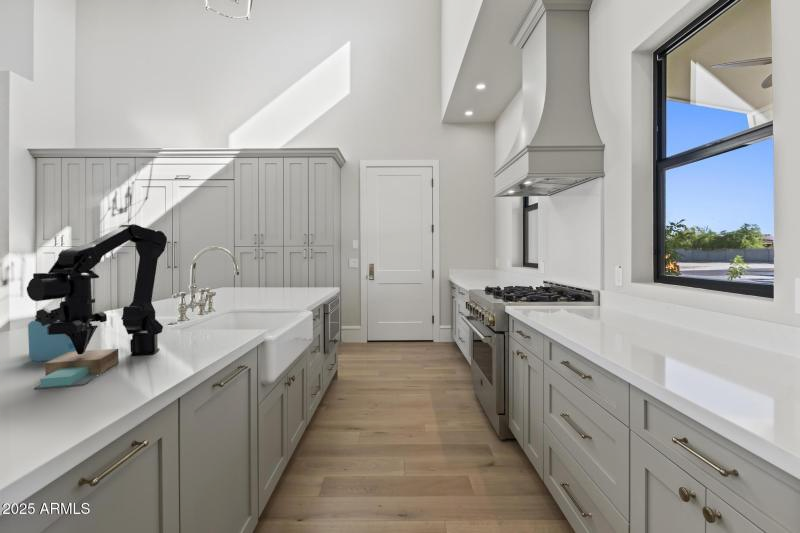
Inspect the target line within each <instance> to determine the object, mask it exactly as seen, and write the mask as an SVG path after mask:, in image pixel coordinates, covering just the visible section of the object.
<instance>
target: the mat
mask: <svg viewBox="0 0 800 533" xmlns="http://www.w3.org/2000/svg"><path fill="white" fill-rule="evenodd" d="M99 374H100V373H91V374H88V375H86V376H84V377H83V378H81V379H79V380H78V381H76V382H74V383H73V384H71V385H62V386H49V387H41V386H40V384H39V385H37V386H34V388H33V390H43V389H53V388H65V387H66V386H68V387H77V386H76V385H80V386H85V385H87V384H88V383H90V382H91V381H93V380H94V379H96V378H97V377H98V376H97V375H99ZM100 375H101V374H100ZM100 375H99V376H100ZM96 376H97V377H96ZM95 377H96V378H95ZM93 378H94V379H93ZM92 379H93V380H92ZM90 380H91V381H90ZM89 381H90V382H89ZM87 382H88V383H87ZM86 383H87V384H86ZM66 388H67V387H66Z"/></svg>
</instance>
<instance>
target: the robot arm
mask: <svg viewBox="0 0 800 533" xmlns="http://www.w3.org/2000/svg"><path fill="white" fill-rule="evenodd" d="M127 242H131V243H134V244H135V249H136V252H137V254H138V257H139V258H138V259H139V260H138V266H137V274H136V280H135V284H134V285H135V286H134V292H133V297H132V302H131V303H130V304H129V305H128V306H123V308H122V317H121V318H120V319H121V320H122V326H123V327H124V328H125V331H126V333H127V335H131V339H130V344H129V345H130V356H145V355H155V354H156V353H157V352H158V351H160V347H159V345H158V343H159V342H158V335H159V334H162V332H163V329H164V326H163V325H162V324H161V323H160V322H159V321H158V320H157V319H156V310H155V308H154V306H153V303H152V299H153V293H154V292H153V291H154V287H155V280H156V272H157V266H158V260H159V258H160V257H161V256H162V254H163V253H164V252H165V250H166V245H167V243H168V238H167V236H166V235H165V233H164V232H163V231H162V230H155V229H150V228H147V227H143V226H140V225H139V224H136V223H123V224H121V225H119V226H118V227H117V228H115V229H113V230H111V231H110V232H106V234H104V235H102V236H100V237H98V238H96V239H94V240H93V241H91V242H88V243H86V244H81V245H78V246H77V245H76V246H73V247H70V248H68V249H64V250H61V251H60V252H59V253H58V255H57V257H58V258H57V260H56V261H55V262H54V264H53V266H51V268H50V269H49V271H48V272H47V273H46V272H42V273H41V272H38V273H37V272H36V273H33V274H32V277H33V278H31V279H30V280H29V281H28V284H27V286H26V294H27V295H28V297H29V298H30V299H31V301H34V302H41V301H43V302H44V301H50V300H59V299H64V300H63V301H61V302H59V307H57V308H54V309H49V308H47V307H46V308H41V309H38V310H36V314H35V320H34V321H36V322H40V323H41V325H42V326H45V325H47V324H50V325H49V326H48V327H47V335H55V334H65V335H67V336H69V337H70V339H71V341H72V343H73V345H74V347H75V349H76V352H77V354H78V355H79V354H83V353H84V352H85V351H87V350H86V349H87V347H88V346H89V345H90V342H91V339H92V337H93V335H94V334H95V332H96V330H97V328H98V327H99V325H93V323H92V322H94V323H95V322H100V323H104V322H107V321H108V319H107V316H108V315H107V314H106V313H105V312H104V311H93V304H94V303H96V298H92V297H93V295H92V294H93V292H92V280H93V279H99V278H100V276H99V275H98V274H97V273H95V272H94V271H93V269H94V268H95V267H96V266H97V265H98V264H99V263H100V262H101V260H102V258H103V257H104V256H105V255H106V254H108V253H110V252H112V251H113V250H115V249H116V248H119V247H121V246H122V245H124V244H125V243H127ZM58 320H59V321H58Z"/></svg>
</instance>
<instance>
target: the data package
mask: <svg viewBox="0 0 800 533" xmlns="http://www.w3.org/2000/svg"><path fill="white" fill-rule="evenodd" d="M58 321H59V320H58ZM49 325H50V324H47V325H45V326H42V325H41V323H40V322H36V321H35V320H31V321H30V322H29V323H28V325H27V329H28V330H27V332H28V335H27V336H28V338H27V339H28V356H29V359H30V360H31V361H33V362H48V361H51V360H53V359H55V358H57V357H59V356H61V355H63V354H66V353H68V352H74V351H76V349H75V347H74V345H73V343H72V341H71V339H70V337H69V336H67V335H65V334H55V335H47V327H48V326H49Z"/></svg>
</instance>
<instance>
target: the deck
mask: <svg viewBox="0 0 800 533" xmlns="http://www.w3.org/2000/svg"><path fill="white" fill-rule="evenodd" d="M119 360H120V359H119V348H107V349H91V350H85V352H84V353H83V354H79V355H78V354H77V352H76V351H74V352H68V353H66V354H63V355H61V356H59V357H57V358H55V359H53V360H51V361H45V363H44V366H45V368H44V369H45V376H47V375H49V374H51V373H53V372H55V371H57V370H59V369H60V368H70V367H85V366H88V367H89V374H91V373H102V372H103V371H105V370H106V369H108V368H109V367H111V366H112V367H114V366H115V365H116V363H117V364H119V362H120V361H119ZM114 364H115V365H114ZM113 365H114V366H113ZM112 367H111V368H112ZM109 369H110V368H109ZM109 369H108V370H109ZM106 371H107V370H106ZM106 371H105V372H106ZM103 373H104V372H103ZM103 373H102V374H103Z"/></svg>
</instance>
